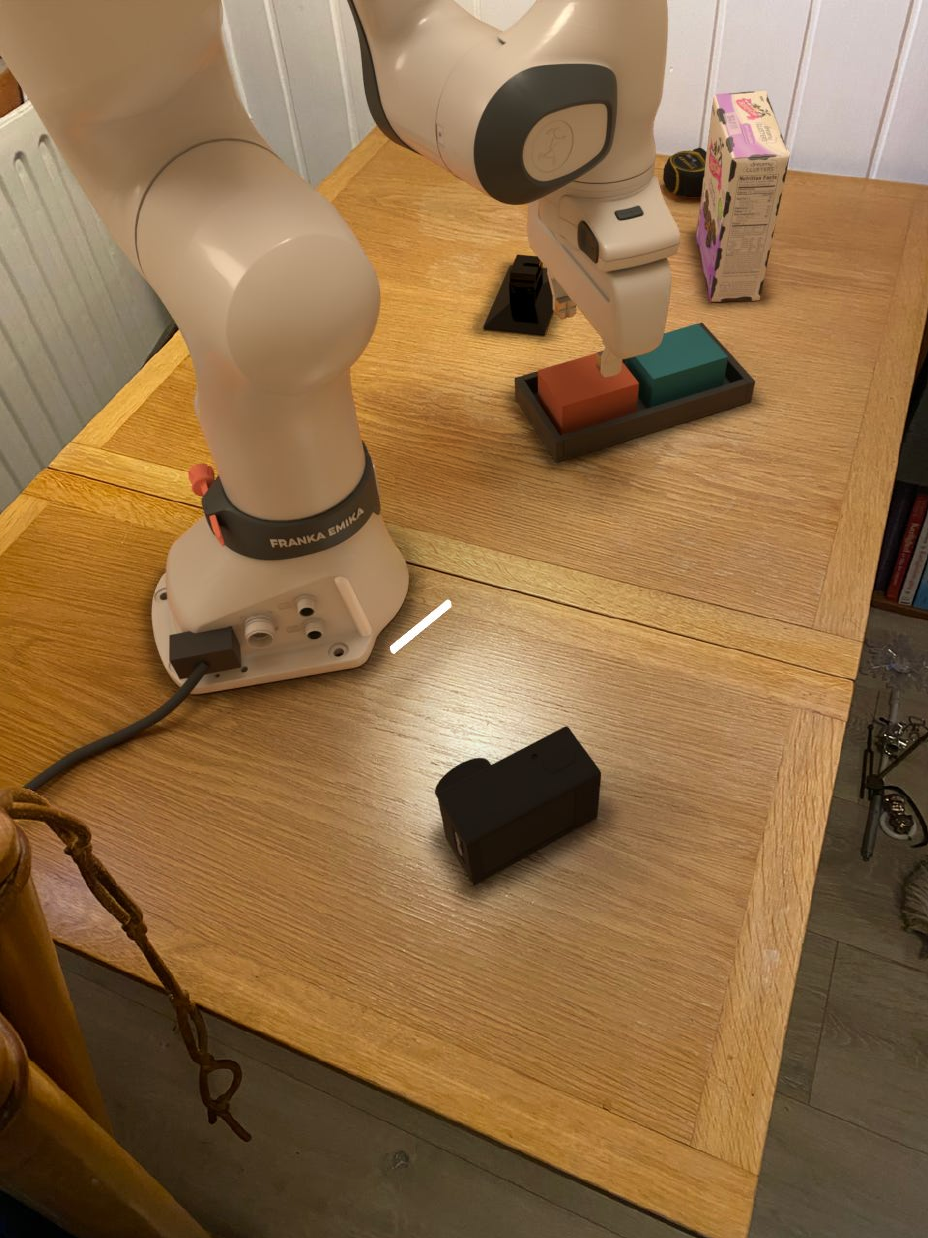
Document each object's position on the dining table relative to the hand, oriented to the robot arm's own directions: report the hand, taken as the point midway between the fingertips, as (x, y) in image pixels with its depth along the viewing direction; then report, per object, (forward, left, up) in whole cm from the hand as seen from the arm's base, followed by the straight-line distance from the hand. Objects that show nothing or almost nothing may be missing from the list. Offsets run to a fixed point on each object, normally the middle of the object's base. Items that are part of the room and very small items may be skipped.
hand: (585, 341), depth 86 cm
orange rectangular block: (+1, +2, -10) cm, 10 cm away
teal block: (+11, +2, -10) cm, 15 cm away
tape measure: (+31, +36, -11) cm, 49 cm away
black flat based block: (+3, +23, -11) cm, 25 cm away
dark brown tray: (+6, +2, -10) cm, 12 cm away
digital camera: (-22, -36, -11) cm, 44 cm away
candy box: (+26, +18, -11) cm, 34 cm away
